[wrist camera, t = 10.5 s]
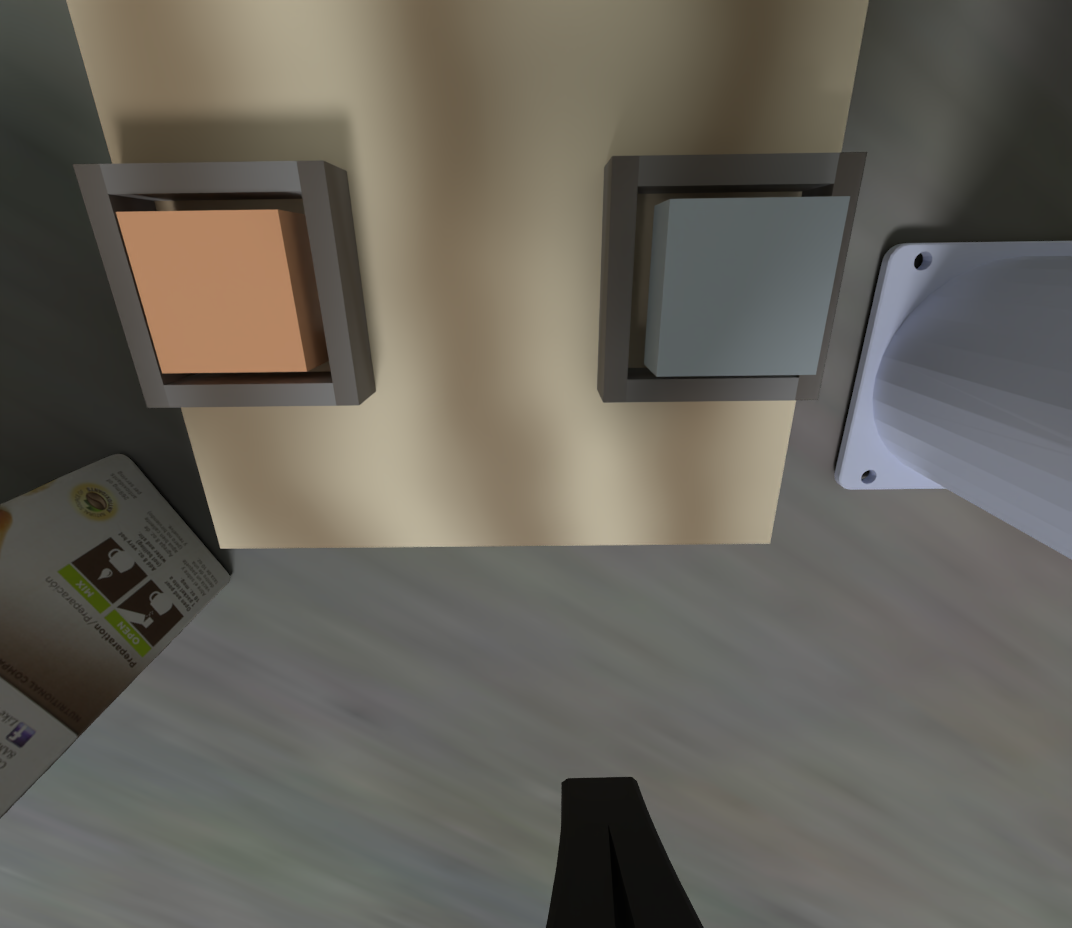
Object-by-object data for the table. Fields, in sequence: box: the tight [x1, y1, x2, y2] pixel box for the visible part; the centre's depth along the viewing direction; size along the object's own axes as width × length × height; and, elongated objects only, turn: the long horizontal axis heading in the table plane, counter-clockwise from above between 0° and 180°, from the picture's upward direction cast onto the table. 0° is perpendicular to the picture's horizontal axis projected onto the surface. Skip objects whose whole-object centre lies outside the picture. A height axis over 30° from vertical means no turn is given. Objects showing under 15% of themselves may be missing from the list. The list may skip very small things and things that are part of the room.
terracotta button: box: [116, 209, 329, 373], centre depth 13 cm, size 4×4×2 cm
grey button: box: [644, 196, 850, 377], centre depth 12 cm, size 4×4×2 cm
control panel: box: [66, 0, 869, 549], centre depth 13 cm, size 18×24×4 cm
